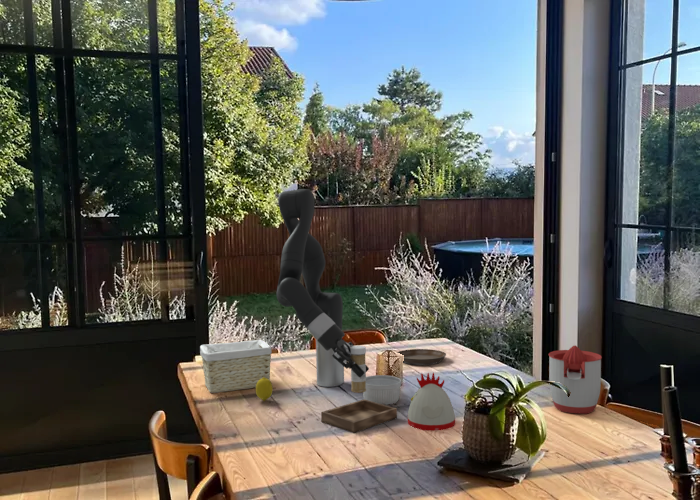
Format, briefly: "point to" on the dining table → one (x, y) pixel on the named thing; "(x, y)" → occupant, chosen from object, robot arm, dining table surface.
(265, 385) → the lemon
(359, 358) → the sprinkles bottle
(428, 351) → the plant saucer
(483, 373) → the dining table surface
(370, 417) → the serving box
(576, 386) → the citrus juicer
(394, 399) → the ramekin
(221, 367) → the storage basket
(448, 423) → the kitchen timer
